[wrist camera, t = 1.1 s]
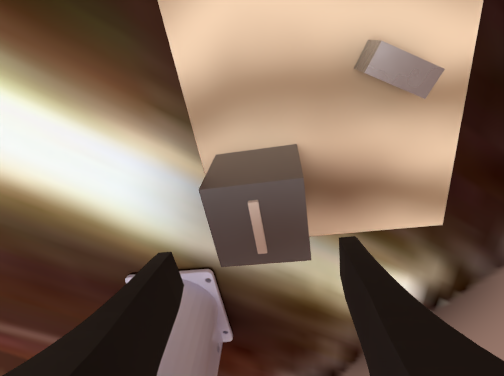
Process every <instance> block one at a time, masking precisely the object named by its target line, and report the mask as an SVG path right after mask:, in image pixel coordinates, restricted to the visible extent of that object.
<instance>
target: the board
mask: <svg viewBox="0 0 504 376" xmlns="http://www.w3.org/2000/svg"><path fill="white" fill-rule="evenodd" d="M158 3H159V7H160V11H161V14H162V18H163V22H164V25H165V29H166V33H167V37H168V40H169V44H170V48H171V51H172V55H173V59H174V62H175V66H176V70H177V73H178V77H179V81H180V84H181V88H182V92H183V95H184V99H185V103H186V106H187V110H188V114H189V117H190V121H191V125H192V128H193V132H194V136H195V139H196V143H197V147H198V150H199V154H200V158H201V162H202V165H203V169H204V173H205V176H206V174H207V172H208V170H209V168H210V165H211V163H212V161H213V159H214V157H215V155H217V154H225V153H232V152H240V151H247V150H255V149H262V148H270V147H277V146H285V145H292V144H297V147H298V152H299V157H300V162H301V167H302V172H303V177H304V186H305V197H306V208H307V219H308V230H309V236H320V235H332V234H343V233H354V232H366V231H377V230H389V229H400V228H411V227H423V226H434V225H442V224H443V219H444V213H445V208H446V202H447V197H448V191H449V186H450V180H451V175H452V169H453V164H454V158H455V153H456V147H457V142H458V137H459V131H460V126H461V120H462V115H463V109H464V104H465V98H466V93H467V87H468V82H469V76H470V71H471V65H472V60H473V54H474V49H475V43H476V38H477V32H478V27H479V21H480V16H481V10H482V5H483V0H158ZM368 40H380V41H384V42H386V43H388V44H390V45H393V46H395V47H397V48H399V49H402V50H404V51H406V52H408V53H411V54H413V55H415V56H417V57H419V58H422V59H424V60H426V61H428V62H431V63H433V64H435V65H437V66H440V67H442V68H444V69H445V70H444V72H443V73H442V75H441V76H440V78H439V79H438V81H437V82H436V84H435V85H434V87H433V88H432V90H431V91H430V93H429V94H428V96H427V97H426V99H424V98H421V97H419V96H417V95H414V94H412V93H410V92H407V91H405V90H403V89H400V88H398V87H396V86H393V85H391V84H389V83H386V82H384V81H382V80H380V79H377V78H375V77H373V76H370V75H368V74H366V73H363V72H361V71H359V70H356V69H354V67H355V65H356V63H357V61H358V59H359V57H360V55H361V53H362V51H363V49H364V47H365V45H366V43H367V41H368Z"/></svg>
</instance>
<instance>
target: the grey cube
mask: <svg viewBox="0 0 504 376" xmlns="http://www.w3.org/2000/svg"><path fill="white" fill-rule="evenodd" d="M199 193H200V196H201V200H202V203H203V206H204V210H205V213H206V217H207V220H208V224H209V227H210V230H211V234H212V237H213V241H214V244H215V248H216V251H217V254H218V258H219V261H220V265H221V267H228V266H241V265H254V264H267V263H281V262H294V261H307V260H311V252H310V241H309V230H308V219H307V208H306V197H305V186H304V177H303V172H302V167H301V162H300V157H299V152H298V147H297V144H292V145H285V146H277V147H270V148H262V149H255V150H247V151H240V152H232V153H225V154H217V155H215V157H214V159H213V161H212V163H211V165H210V168H209V170H208V172H207V174H206V176H205V178H204V180H203V182H202V184H201V186H200V188H199Z"/></svg>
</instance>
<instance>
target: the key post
mask: <svg viewBox="0 0 504 376" xmlns="http://www.w3.org/2000/svg"><path fill="white" fill-rule="evenodd" d="M354 69H356V70H359V71H361V72H363V73H366V74H368V75H370V76H373V77H375V78H377V79H380V80H382V81H384V82H386V83H389V84H391V85H393V86H396V87H398V88H400V89H403V90H405V91H407V92H410V93H412V94H414V95H417V96H419V97H421V98H424V99H426V97H427V96H428V94H429V93H430V91H431V90H432V88H433V87H434V85H435V84H436V82H437V81H438V79H439V78H440V76H441V75H442V73H443V72H444V70H445V69H444V68H442V67H440V66H437V65H435V64H433V63H431V62H428V61H426V60H424V59H422V58H419V57H417V56H415V55H413V54H411V53H408V52H406V51H404V50H402V49H399V48H397V47H395V46H393V45H390V44H388V43H386V42H384V41H380V40H368V41H367V43H366V45H365V47H364V49H363V51H362V53H361V55H360V57H359V59H358V61H357V63H356V65H355V67H354Z"/></svg>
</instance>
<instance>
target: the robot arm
mask: <svg viewBox="0 0 504 376" xmlns="http://www.w3.org/2000/svg"><path fill="white" fill-rule="evenodd" d="M339 251H340V276H341V281H342V286H343V290H344V294H345V299H346V302H347V305H348V308H349V311H350V314H351V317H352V320H353V323H354V325H355V328H356V331H357V334H358V337H359V340H360V343H361V346H362V349H363V352H364V355H365V359H366V362H367V365H368V369H369V373H370V376H504V361H503V360H501V359H499V358H498V357H496V356H495V355H493V354H492V353H490V352H488V351H487V350H485V349H484V348H482V347H480V346H479V345H477V344H476V343H474V342H473V341H472V340H470V339H468V338H467V337H466V336H464V335H463V334H461V333H460V332H458V331H457V330H455V329H454V328H453V327H451V326H450V325H448V324H447V323H445V322H444V321H443V320H442V319H440V318H439V317H438V316H436V315H435V314H434V313H433V312H431V311H430V310H429V309H428V308H426V307H425V306H424V305H423V304H421V303H420V302H419V301H418V300H417V299H415V298H414V297H413V296H412V295H411V294H410V293H409V292H408V291H406V290H405V289H404V288H403V287H402V286H401V285H400V284H399V283H398V282H397V281H396V280H395V279H394V278H393V277H392V276H391V275H390V274H389V273H388V272H387V271H386V270H385V269H384V268H383V267H382V266H381V265H380V264H379V263H378V262H377V261H376V260H375V259H374V258H373V256H372V255H371V254H370V253H369V252H368V251H367V250H366V248H365V247H364V246H363V245H362V244H361V242H360V241H359V240H358V238H356V237H355V236H353V237H341V238H339ZM207 278H209V279H207ZM125 282H126V285H125V286H124V287H122V288H121V289H120V290H119V291H118V292H117V293H116V294H115V295H114V296H113V297H111V298H110V299H109V300H108V301H107V302H106V303H105V304H104V305H103V306H101V307H100V308H99V309H98V310H97V311H96V312H94V313H93V314H92V315H91V316H90V317H88V318H87V319H86V320H84V321H83V322H82V323H81V324H79V325H78V326H77V327H76V328H74V329H73V330H72V331H70V332H69V333H67V334H66V335H64V336H63V337H62V338H60V339H59V340H57V341H56V342H55V343H53V344H52V345H50V346H49V347H47V348H46V349H45V350H43V351H41V352H40V353H38V354H37V355H35V356H34V357H32V358H31V359H29V360H27V361H26V362H24V363H23V364H21V365H20V366H18V367H16V368H14V369H13V370H11V371H9V372H8V373H6V374H4V375H3V376H217V374H218V368H219V362H220V356H221V350H222V344H223V342H230V341H232V340H233V334H232V331H231V327H230V324H229V321H228V318H227V315H226V311H225V308H224V305H223V302H222V299H221V296H220V292H219V289H218V286H217V283H216V280H215V276H214V273H213V271H212V270H210V269H199V270H186V271H179V270H178V268H177V265H176V263H175V260H174V257H173V255H172V252H164V253H158V254H157V255H156V256H154V257H153V258H152V259H151V260H150V261H149V262H148V263H147V264H146V265H145V266H144V267H143V268H142V269H141V270H140V271H139V272H138V273H137V274H133V275H128V276H127V277H126V279H125Z"/></svg>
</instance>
